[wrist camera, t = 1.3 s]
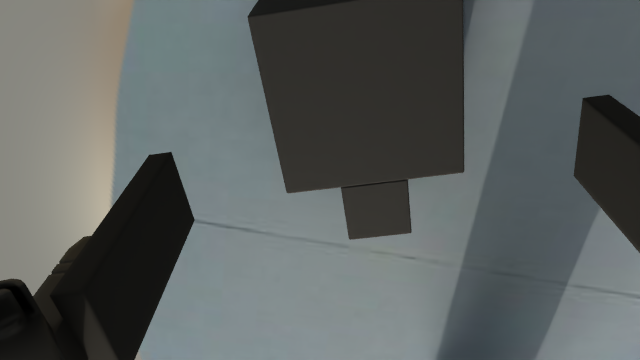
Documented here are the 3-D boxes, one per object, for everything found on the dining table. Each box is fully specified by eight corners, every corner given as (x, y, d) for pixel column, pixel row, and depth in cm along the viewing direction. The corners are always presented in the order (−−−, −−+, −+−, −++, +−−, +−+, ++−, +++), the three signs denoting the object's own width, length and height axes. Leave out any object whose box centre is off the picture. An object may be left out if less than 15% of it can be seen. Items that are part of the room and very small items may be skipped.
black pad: (442, -34, 21) (463, -18, 18) (448, 183, 27) (465, 227, 23) (260, -5, 22) (246, 15, 18) (302, 200, 27) (298, 245, 24)
